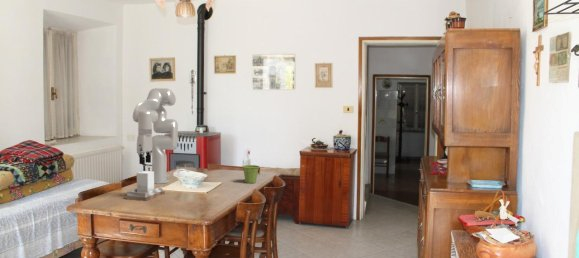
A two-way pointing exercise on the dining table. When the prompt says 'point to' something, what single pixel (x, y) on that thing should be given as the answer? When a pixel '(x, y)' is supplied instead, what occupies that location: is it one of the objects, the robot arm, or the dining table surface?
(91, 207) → the dining table surface
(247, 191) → the dining table surface
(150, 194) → the board
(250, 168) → the plant pot
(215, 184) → the dining table surface
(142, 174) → the supplement box
